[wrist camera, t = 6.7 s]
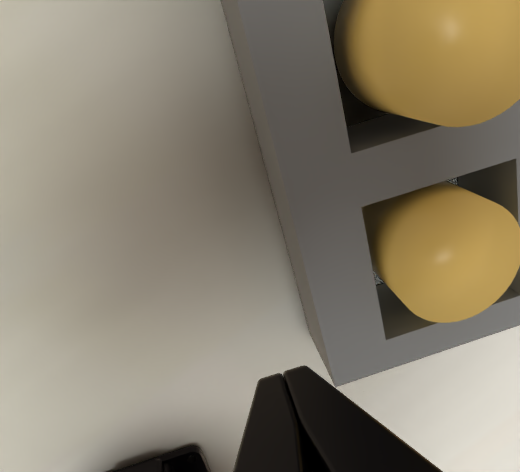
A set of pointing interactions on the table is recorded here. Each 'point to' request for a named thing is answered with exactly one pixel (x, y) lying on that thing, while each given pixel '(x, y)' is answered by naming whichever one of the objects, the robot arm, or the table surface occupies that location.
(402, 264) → the button
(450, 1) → the button
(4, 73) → the table surface
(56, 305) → the table surface
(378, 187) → the board
